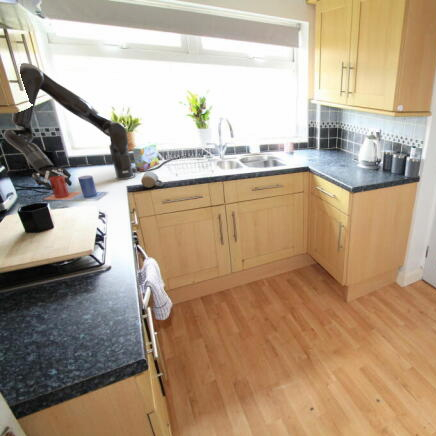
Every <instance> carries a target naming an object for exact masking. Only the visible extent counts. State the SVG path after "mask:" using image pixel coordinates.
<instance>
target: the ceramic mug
mask: <svg viewBox="0 0 436 436" xmlns="http://www.w3.org/2000/svg"><path fill="white" fill-rule="evenodd" d="M140 182H141V185H142V186H143V187H144V188H147V189H151V188H154V187H163V186H164V181H162V180H160V179H159V177H158V175H157V174H156V173H155V172H153V171H146V172H144V174H143V176H141V181H140Z"/></svg>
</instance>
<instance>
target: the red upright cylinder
mask: <svg viewBox="0 0 436 436" xmlns="http://www.w3.org/2000/svg"><path fill="white" fill-rule="evenodd" d="M48 180H49V184H50V185H51V186H52V187H53V190H52V193H53V194H54V196H55V198H64V197H68V196H69V195H70V194H69V192H70V191H69V188H68V184H67V183H66V181H65V178H64V176H60V175H58V176H54V177H50V178H49V179H48Z"/></svg>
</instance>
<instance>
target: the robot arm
mask: <svg viewBox="0 0 436 436" xmlns="http://www.w3.org/2000/svg"><path fill="white" fill-rule="evenodd" d="M20 64H21V63H20ZM20 74H21V78H22V81H23V84H24V87H25V90H26V93H27V95H28V98H29V102H30V103H31V104H33V106H31V107H30V108H28V109H26V110H24V111H21V112H18V113H13V112H12V116H11V122H12V124H13V125H15V126H17V127H20V128H7V129H6V130H4V132H3V137H4V139H5V141H6V142H7V143H8V144H10V145H11V146H12V147H14V148H15V149H16V150H18V151H19V152H21V153H22V155H23V156H24V157H25V159H26V160H27V161H28V163H29V165H31V167H32V168H33V169H34V170H35V171H36V172H33V173H32V175H31V177H32V179H33V180H34V181H35V182H36V184H37V185H38V186H44V187H45V188H46V189H47V190H48V191H50V192H53V187H52V186H51V184H50V182H48V180H49V178H50V177H54V176H64V178H65V181H66V185H67V186H68V187H71V186H72V184H73V182H72V181H71V179H70V178H71V176H72V175H71V173H70V172H69V171H68V170H67V169H66V168H65V167H64V166H61V167H60V168H57V167H56V166H55V165H54V163H53V162H52V161H51V159H50V158H48V156H47V155H46V154H45V153H44V152H43V151H42V150H41V149H40V147H39V146H38V145H37V144H35V143H33V140H34V133H33V132H34V131H33V126H32V122H33V118H34V113H35V112H34V111H35V108H36V107H35V106H36V101H37V97H38V95H39V93H40V91H42V92H44V93H45V94H47V95H48V96H49V97H50V98H52V99H53V100H54V101H55V102H56V103H57V104H59V105H60V106H61V107H63V108H64V109H65V110H66V111H68V112H70V113H71V114H73V115H75V116H77V117H79V118H80V119H81V120H83V121H85V122H87V123H89V124H91V125H92V126H94V127H95V128H96V129H98V130H99V131H100V132H101V133H103V134H104V135H105V136H107V137H109V140H110V144H109V146H108V147H109V152H110V156H111V160H112V165H113V168H114V173H115V178H116V179H117V180H129V179H132V178H134V177H135V175H134V174H136V173H137V171H138V172H139V173H146V172H152V171H155V170H157V169H159V168H160V167H162V166H163V165H164V164H165V163H167V162H169V161H173V160H178V159H181V158H184V157H187V158H188V157H189V156H188V155H187V154H184V155H181V156H178V157H173V158H170V159H168V160H166V161H163V162H162V163H161V164H159V165H158V166H157V167H156V166H155V167H153V168H149V169H146V170H144V171H140V170H137V169H136V167H133V165H132V161H131V156H130V152H129V147H128V146H129V139H128V134H127V130H126V127H125V126H124V125H123V123H120V122H116V121H113V120H111V119H109V118H107V117H105V116H104V115H102V114H100V112H98V111H97V110H96V108H94V107H93V106H92V105H91V104H90V103H89V102H88V101H86V100H85V99H83V98H82V97H81V96H79V95H77V94H76V93H74V92H72V90H70V89H68V88H66V87H65V86H63V85H61V84H59V83H58V82H57V81H55V80H54V79H52V78H51V77H50V76H48V74H46V73H45V72H43V71H42V70H41V69H40V68H39V67H37V66H36V65H34V64H32V63H28V62H22V64H21V66H20ZM40 177H41V178H43V180H42V179H41V178H40Z"/></svg>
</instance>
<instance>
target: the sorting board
mask: <svg viewBox="0 0 436 436" xmlns="http://www.w3.org/2000/svg"><path fill="white" fill-rule="evenodd" d="M105 193H107V191H97V196H95V197H90V198H85V197H83V193H82V191H69V194H70V195H69V196H68V197H64V198H55V196H54V193H53V194H51V195H48V197H46V198H44V199H43V200H44V201H50V200H51V201H53V200H54V201H55V200H57V201H58V200H97V199H99V198H100V197H102V196H104V194H105Z"/></svg>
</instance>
